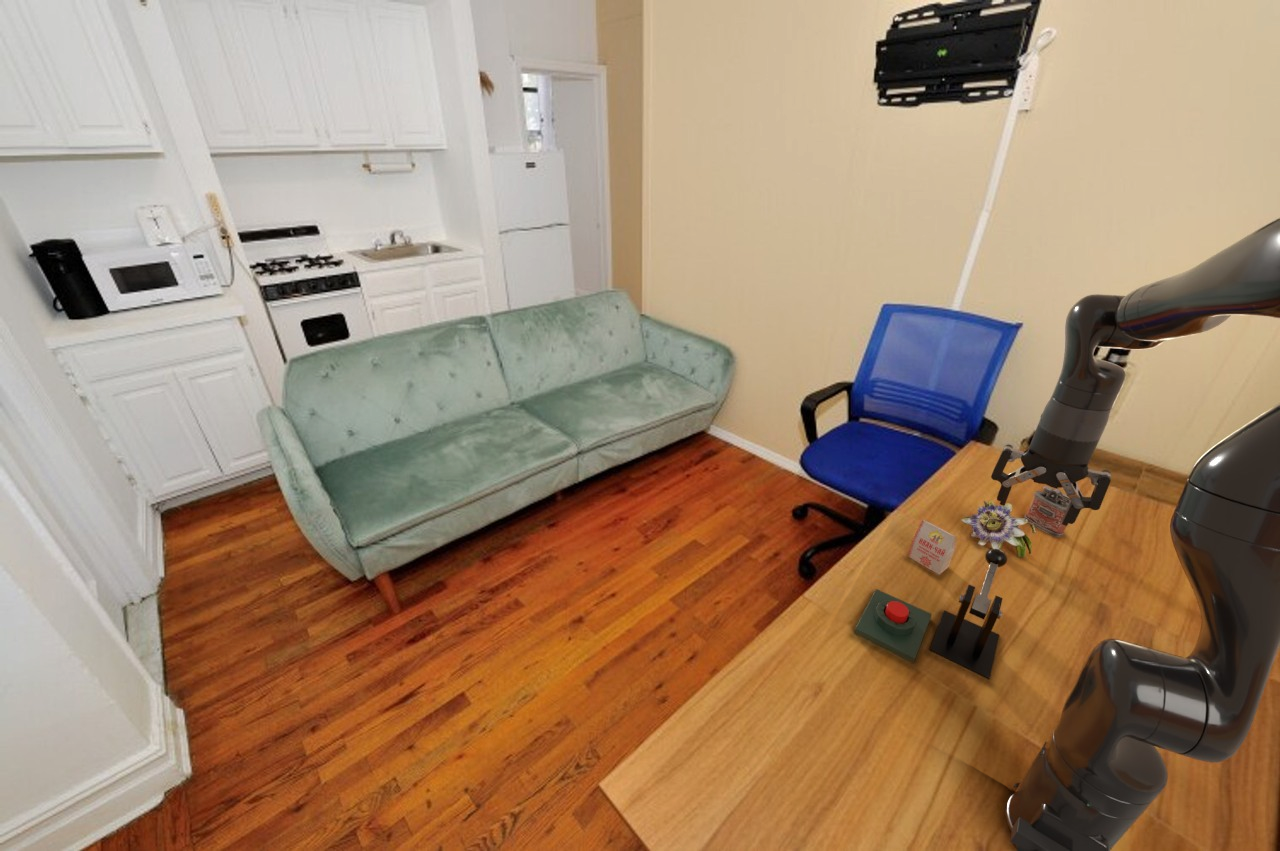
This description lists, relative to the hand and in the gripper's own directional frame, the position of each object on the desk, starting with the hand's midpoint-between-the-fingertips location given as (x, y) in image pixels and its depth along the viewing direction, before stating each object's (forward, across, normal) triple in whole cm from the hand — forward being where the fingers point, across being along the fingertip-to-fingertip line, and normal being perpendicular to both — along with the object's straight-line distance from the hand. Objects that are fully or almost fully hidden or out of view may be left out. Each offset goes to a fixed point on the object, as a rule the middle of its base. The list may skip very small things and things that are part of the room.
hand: (1032, 512), depth 84 cm
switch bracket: (+24, -2, -11) cm, 27 cm away
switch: (+14, -2, -5) cm, 15 cm away
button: (+21, -13, -15) cm, 29 cm away
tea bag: (+24, -12, +7) cm, 28 cm away
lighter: (+24, +5, +37) cm, 45 cm away
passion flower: (+24, -2, +24) cm, 35 cm away
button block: (+24, -13, -15) cm, 31 cm away
